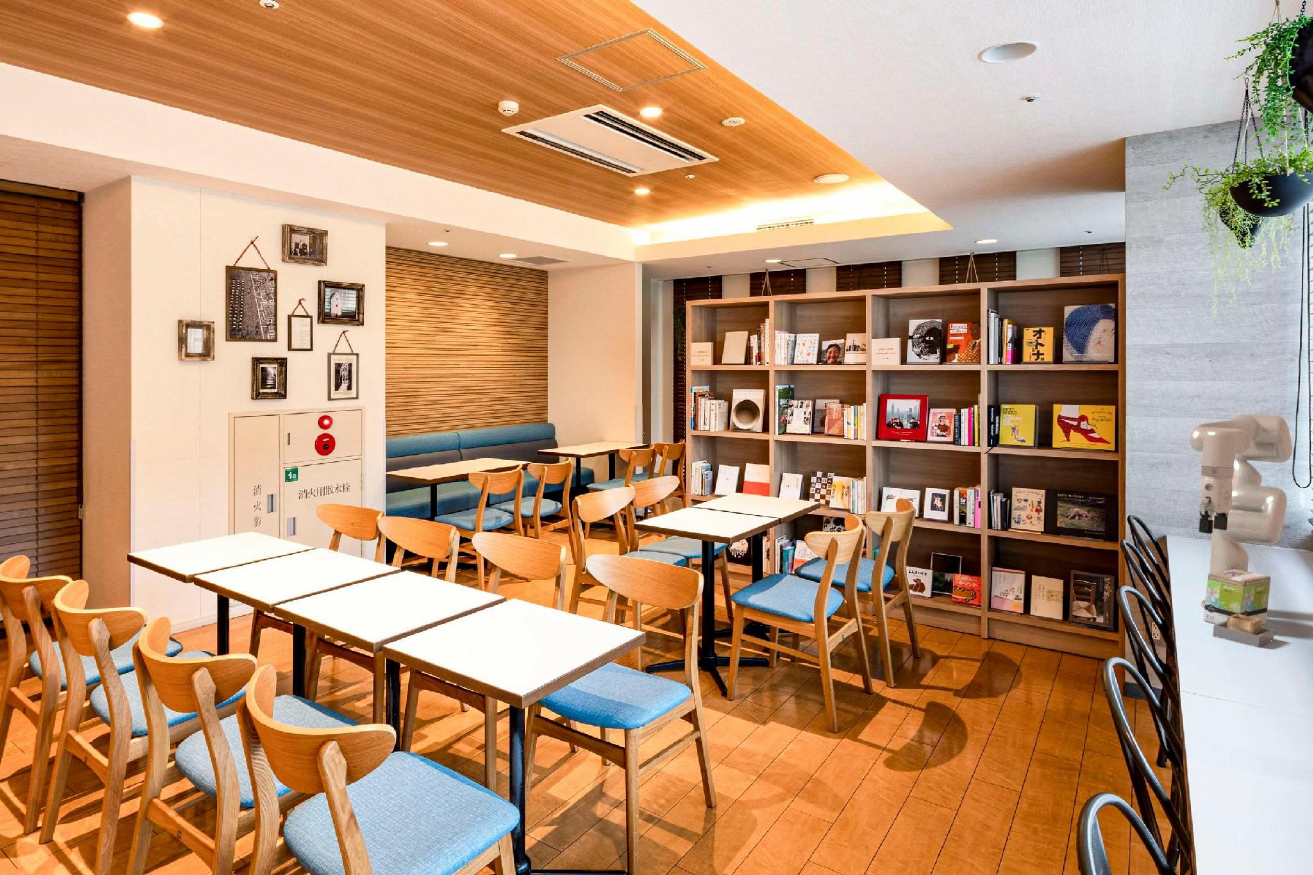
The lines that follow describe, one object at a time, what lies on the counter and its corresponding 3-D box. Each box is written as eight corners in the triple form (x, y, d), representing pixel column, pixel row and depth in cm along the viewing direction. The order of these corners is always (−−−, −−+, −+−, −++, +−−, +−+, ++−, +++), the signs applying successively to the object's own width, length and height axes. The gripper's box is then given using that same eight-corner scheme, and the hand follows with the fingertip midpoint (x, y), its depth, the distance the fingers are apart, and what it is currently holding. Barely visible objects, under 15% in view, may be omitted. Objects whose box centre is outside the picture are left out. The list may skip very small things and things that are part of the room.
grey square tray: (1228, 629, 221) (1229, 619, 220) (1273, 640, 212) (1274, 629, 211) (1212, 635, 215) (1213, 625, 214) (1258, 647, 206) (1259, 636, 206)
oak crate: (1260, 637, 212) (1261, 619, 212) (1251, 640, 209) (1253, 623, 209) (1235, 630, 217) (1236, 613, 217) (1226, 634, 214) (1227, 617, 214)
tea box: (1240, 631, 219) (1244, 581, 218) (1202, 621, 228) (1205, 572, 227) (1267, 623, 226) (1271, 575, 225) (1229, 614, 235) (1233, 567, 234)
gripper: (1219, 476, 211) (1215, 536, 213) (1245, 472, 221) (1240, 530, 222) (1189, 472, 217) (1184, 532, 219) (1214, 469, 227) (1210, 525, 228)
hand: (1212, 531), depth 220 cm, fingers open, 9 cm apart
